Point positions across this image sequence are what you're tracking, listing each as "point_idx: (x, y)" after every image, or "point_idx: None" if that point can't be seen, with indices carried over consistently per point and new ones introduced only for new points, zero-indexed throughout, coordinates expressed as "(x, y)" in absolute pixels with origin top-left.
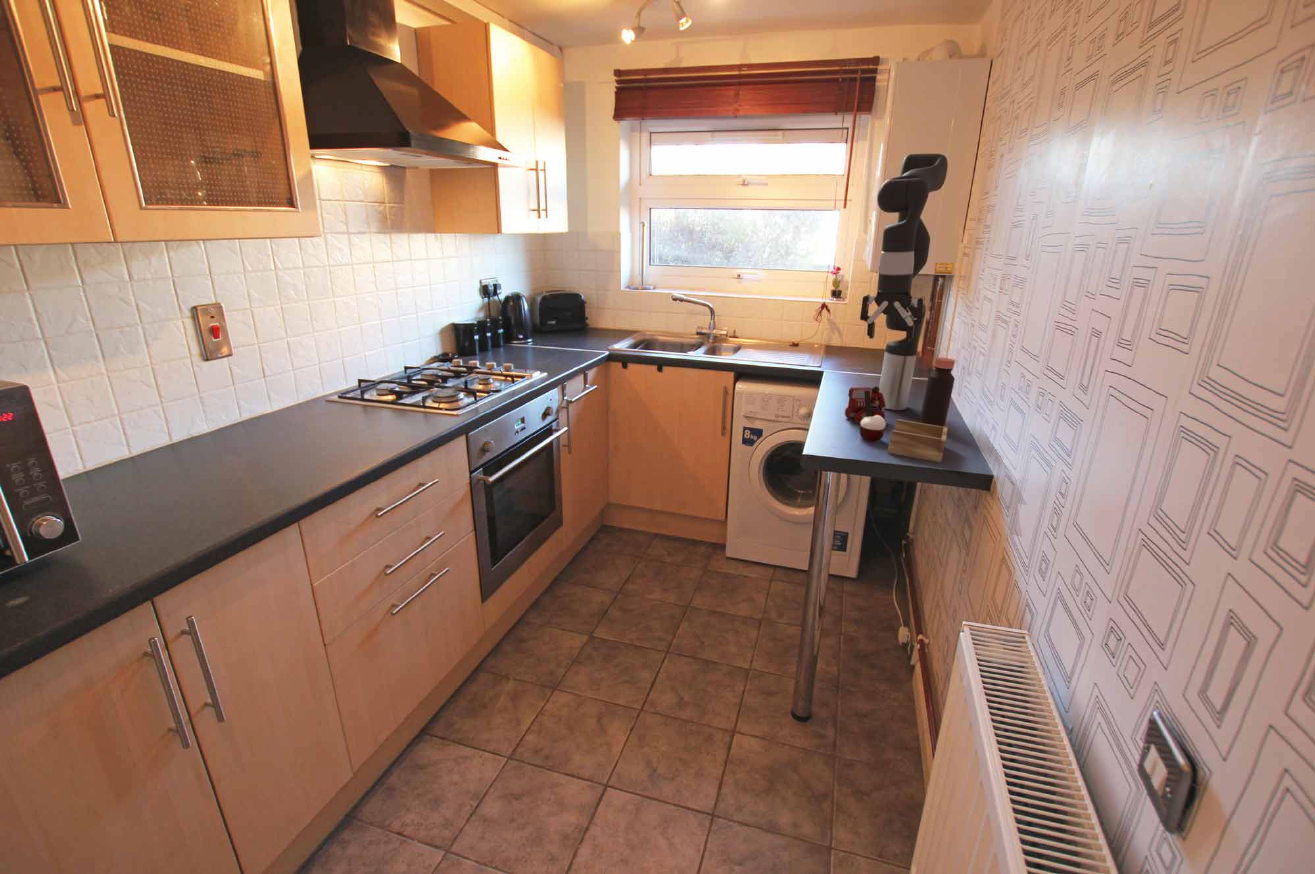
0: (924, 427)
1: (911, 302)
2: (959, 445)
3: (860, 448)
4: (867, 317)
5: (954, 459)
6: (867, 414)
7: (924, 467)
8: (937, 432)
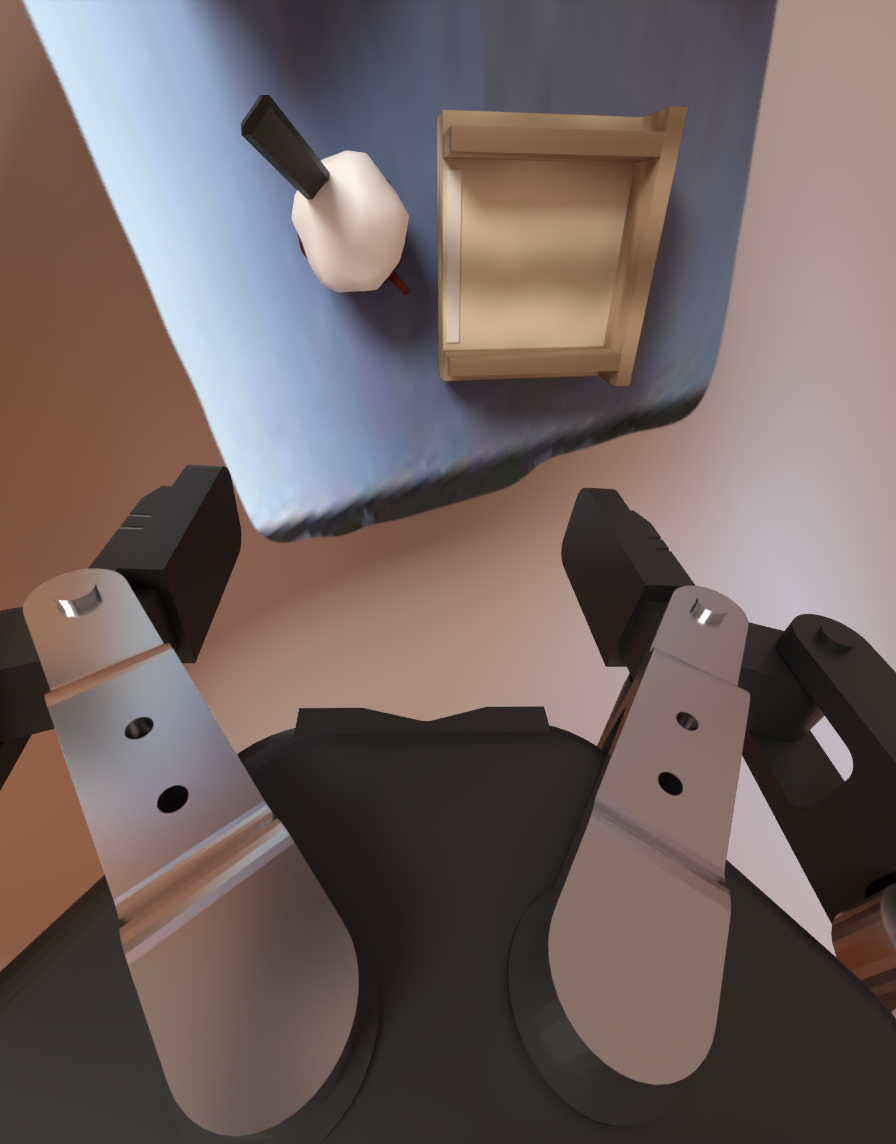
0: (577, 156)
1: (852, 991)
2: (711, 50)
3: (351, 384)
4: (44, 723)
5: None
6: (309, 191)
7: (546, 441)
8: (627, 159)
